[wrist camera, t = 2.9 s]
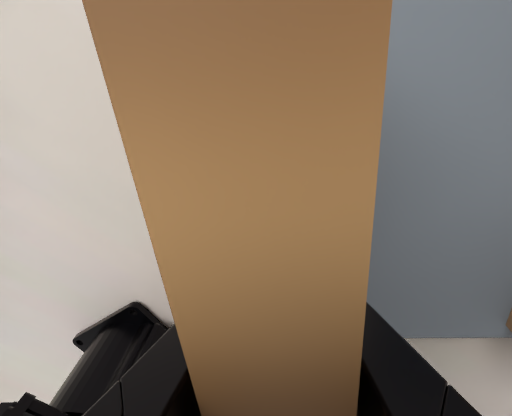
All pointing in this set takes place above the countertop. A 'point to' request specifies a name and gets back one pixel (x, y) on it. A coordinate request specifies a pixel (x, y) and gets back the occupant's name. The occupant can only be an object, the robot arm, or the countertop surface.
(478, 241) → the joint board
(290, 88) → the crossbar
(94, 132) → the countertop surface
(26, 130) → the countertop surface
